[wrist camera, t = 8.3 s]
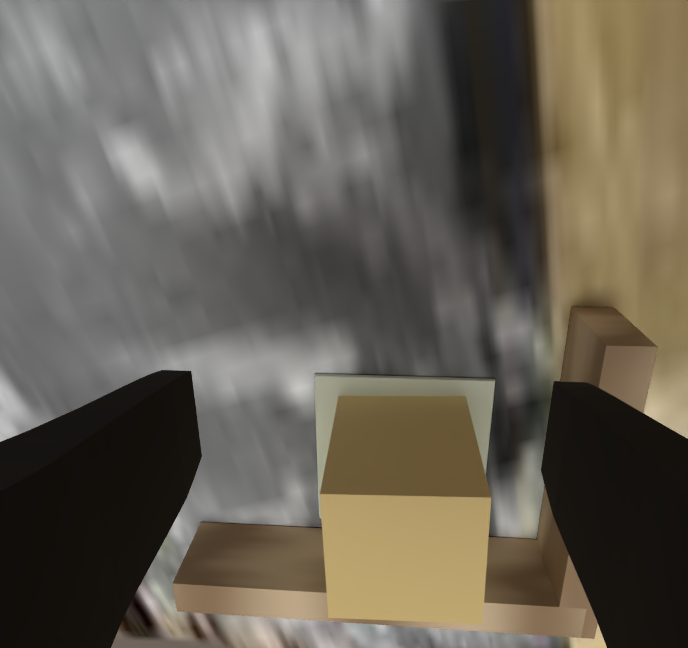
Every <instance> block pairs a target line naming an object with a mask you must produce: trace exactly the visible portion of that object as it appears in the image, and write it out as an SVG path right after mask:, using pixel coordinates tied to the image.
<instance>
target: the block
mask: <svg viewBox="0 0 688 648" xmlns="http://www.w3.org/2000/svg"><path fill="white" fill-rule="evenodd" d="M320 505H321V520H322V534H323V548H324V562H325V576H326V590H327V605H328V618H346V619H370V620H393V621H417V622H441V623H464V624H483V610H484V596H485V581H486V567H487V552H488V538H489V523H490V509H491V495H490V491H489V487H488V483H487V479H486V475H485V471H484V467H483V463H482V459H481V455H480V451H479V447H478V443H477V439H476V435H475V431H474V427H473V423H472V419H471V415H470V411H469V407H468V403H467V399H466V396H338V401H337V406H336V411H335V417H334V422H333V427H332V432H331V438H330V443H329V448H328V453H327V458H326V464H325V469H324V474H323V479H322V485H321V490H320Z"/></svg>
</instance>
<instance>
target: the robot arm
mask: <svg viewBox="0 0 688 648" xmlns="http://www.w3.org/2000/svg"><path fill="white" fill-rule="evenodd" d="M201 457H202V454H201V446H200V438H199V430H198V422H197V414H196V406H195V398H194V390H193V382H192V374H191V371H172V370H161V371H158V372H155V373H152V374H150V375H147V376H145V377H143V378H140V379H138V380H136V381H134V382H132V383H130V384H128V385H125V386H123V387H121V388H119V389H117V390H115V391H113V392H111V393H109V394H107V395H105V396H103V397H101V398H99V399H97V400H95V401H93V402H90V403H88V404H86V405H84V406H82V407H80V408H78V409H76V410H74V411H71V412H69V413H67V414H65V415H62V416H60V417H58V418H56V419H54V420H51V421H49V422H47V423H45V424H42V425H40V426H38V427H36V428H33V429H31V430H29V431H27V432H24V433H22V434H19V435H17V436H14V437H12V438H9V439H7V440H4V441H2V442H0V648H111V646H112V644H113V641H114V639H115V636H116V634H117V632H118V629H119V627H120V624H121V622H122V620H123V617H124V615H125V613H126V611H127V609H128V607H129V605H130V603H131V601H132V599H133V597H134V595H135V593H136V591H137V589H138V587H139V586H140V584H141V582H142V580H143V578H144V576H145V575H146V573H147V571H148V569H149V567H150V565H151V563H152V562H153V560H154V558H155V556H156V554H157V552H158V551H159V549H160V547H161V545H162V543H163V541H164V540H165V538H166V536H167V534H168V532H169V530H170V528H171V527H172V525H173V523H174V521H175V519H176V517H177V515H178V513H179V512H180V510H181V508H182V506H183V504H184V502H185V500H186V498H187V495H188V493H189V490H190V488H191V485H192V482H193V480H194V477H195V474H196V471H197V468H198V465H199V463H200V460H201ZM541 472H542V476H543V480H544V484H545V488H546V492H547V496H548V500H549V503H550V507H551V510H552V514H553V517H554V519H555V522H556V524H557V527H558V529H559V532H560V534H561V537H562V539H563V542H564V544H565V546H566V549H567V551H568V554H569V556H570V558H571V561H572V563H573V565H574V568H575V570H576V572H577V575H578V577H579V580H580V582H581V584H582V587H583V589H584V591H585V594H586V596H587V598H588V601H589V603H590V606H591V608H592V610H593V613H594V615H595V617H596V620H597V622H598V625H599V627H600V630H601V633H602V635H603V638H604V641H605V643H606V646H607V648H688V439H687V438H685V437H683V436H682V435H680V434H678V433H676V432H675V431H673V430H671V429H669V428H668V427H666V426H664V425H662V424H661V423H659V422H657V421H655V420H654V419H652V418H650V417H649V416H647V415H645V414H644V413H642V412H640V411H638V410H637V409H635V408H633V407H632V406H630V405H628V404H627V403H625V402H623V401H622V400H620V399H618V398H616V397H615V396H613V395H611V394H609V393H608V392H606V391H604V390H602V389H600V388H598V387H596V386H594V385H592V384H590V383H587V382H558V381H554V385H553V392H552V399H551V406H550V412H549V419H548V426H547V433H546V440H545V447H544V454H543V461H542V468H541Z"/></svg>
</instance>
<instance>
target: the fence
mask: <svg viewBox="0 0 688 648" xmlns="http://www.w3.org/2000/svg"><path fill="white" fill-rule="evenodd" d="M656 352H657V346H656V345H655V344H654V343H653V342H652V341H651V340H650V339H648V338H647V337H646V336H645V335H644V334H643V333H642V332H641V331H640V330H638V329H637V328H636V327H635V326H634V325H633V324H632V323H631V322H630V321H628V320H627V319H626V318H625V317H624V316H623V315H622V314H621V313H620V312H618V311H617V310H616V309H615V308H601V307H571V314H570V321H569V327H568V334H567V341H566V347H565V354H564V361H563V367H562V374H561V381H560V382H587V383H590V384H592V385H594V386H596V387H598V388H600V389H602V390H604V391H606V392H608V393H609V394H611V395H613V396H615V397H616V398H618V399H620V400H622V401H623V402H625V403H627V404H628V405H630V406H632V407H633V408H635V409H637V410H638V411H640V412H642V413H643V412H644V407H645V403H646V398H647V393H648V389H649V384H650V380H651V375H652V370H653V366H654V361H655V357H656ZM173 589H174V596H175V602H176V608H177V611H180V612H195V613H211V614H226V615H241V616H256V617H272V618H287V619H302V620H317V621H333V622H348V623H363V624H378V625H394V626H409V627H424V628H439V629H455V630H470V631H485V632H500V633H516V634H531V635H546V636H561V637H576V638H592V639H594V637H595V633H596V628H597V624H598V622H597V620H596V617H595V615H594V613H593V610H592V608H591V606H590V603H589V601H588V598H587V596H586V594H585V591H584V589H583V587H582V584H581V582H580V580H579V577H578V575H577V572H576V570H575V568H574V565H573V563H572V561H571V558H570V556H569V554H568V551H567V549H566V546H565V544H564V542H563V539H562V537H561V534H560V532H559V529H558V527H557V524H556V522H555V519H554V517H553V514H552V510H551V507H550V503H549V500H548V496H547V492H546V488H545V487H544V494H543V501H542V507H541V514H540V521H539V527H538V534H537V539H520V538H500V537H489V538H488V552H487V567H486V581H485V596H484V610H483V624H464V623H441V622H417V621H393V620H370V619H346V618H328V605H327V590H326V576H325V562H324V548H323V534H322V528H307V527H287V526H268V525H249V524H229V523H210V522H201V523H200V526H199V528H198V530H197V532H196V534H195V536H194V538H193V541H192V543H191V545H190V547H189V549H188V551H187V553H186V556H185V558H184V560H183V562H182V564H181V566H180V569H179V571H178V573H177V575H176V577H175V579H174V581H173Z"/></svg>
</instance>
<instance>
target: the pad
mask: <svg viewBox="0 0 688 648" xmlns="http://www.w3.org/2000/svg"><path fill="white" fill-rule="evenodd" d="M314 378H315V408H316V437H317V466H318V496H319V518H321V505H320V490H321V485H322V479H323V474H324V469H325V464H326V458H327V453H328V448H329V443H330V438H331V432H332V427H333V422H334V417H335V411H336V406H337V401H338V396H466V399H467V403H468V407H469V411H470V415H471V419H472V423H473V427H474V431H475V435H476V439H477V443H478V447H479V451H480V455H481V459H482V463H483V467H484V471H485V475H486V466H487V456H488V446H489V436H490V426H491V416H492V407H493V397H494V387H495V380H494V379H487V378H452V377H416V376H381V375H346V374H315V376H314Z"/></svg>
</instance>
